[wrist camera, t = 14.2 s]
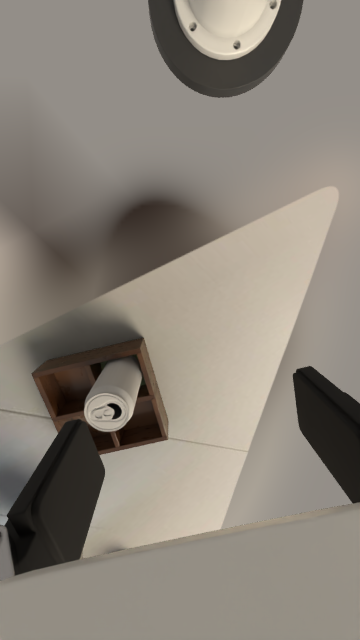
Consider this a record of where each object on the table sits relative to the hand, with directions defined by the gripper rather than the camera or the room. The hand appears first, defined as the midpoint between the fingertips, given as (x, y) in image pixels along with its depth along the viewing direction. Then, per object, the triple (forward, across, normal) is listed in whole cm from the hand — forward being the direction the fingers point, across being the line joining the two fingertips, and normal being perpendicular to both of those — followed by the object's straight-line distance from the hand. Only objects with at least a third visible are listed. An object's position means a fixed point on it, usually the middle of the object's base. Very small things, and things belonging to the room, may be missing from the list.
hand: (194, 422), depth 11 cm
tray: (+30, +16, +14) cm, 37 cm away
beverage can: (+30, +12, +10) cm, 33 cm away
